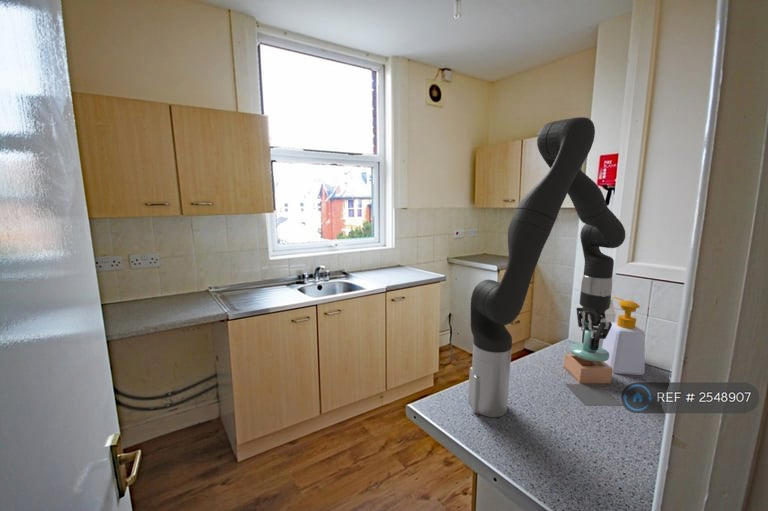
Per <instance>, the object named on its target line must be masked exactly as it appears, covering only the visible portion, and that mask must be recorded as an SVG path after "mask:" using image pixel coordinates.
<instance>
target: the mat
mask: <svg viewBox="0 0 768 511" xmlns="http://www.w3.org/2000/svg"><path fill="white" fill-rule="evenodd" d="M564 385H565V386H566V387H567V388H568V389H569V390H570V391H571V392H572V394H573V395H574V396H575V397H576V398H577V399H578V400H579V401H580V402H581V403H582V404H583V405H584V406H595V407H596V406H599V407H600V406H601V407H602V406H612V407H613V406H615V407H617V406H620V407H621V406H624V404H622V402H620V400H618V399H617V398H616V397H615V396H614V395H613V394H611V393H610V392H609V391H608V390H607V389H606V388H605V387H604V386H603V385H601V383H564Z"/></svg>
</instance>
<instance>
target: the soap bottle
mask: <svg viewBox="0 0 768 511" xmlns="http://www.w3.org/2000/svg"><path fill="white" fill-rule="evenodd" d="M612 298H613V299H617V300H619V302H618V305H619V306H620V310H622V311H624V314H620V315H618V316H617V322H615V323H614V322H611V323H612V326H611V328H610V330H609V333H608V335H607V337H606V339H604V341H603V345H602V348H603V349H605V350H607V351H608V352H609V359H608V360H606V361H604V362H605V363H606V364H607V365H609V366H610V367H611V368H613V369H612V374H619V375H633V376H634V375H636V376H643V375H644V374H645V359H646V358H645V354H646V352H645V351H646V334H645V333H646V332H645V331H644V330H643V329H641V328H640V327H638V326H637V325H636V323H637V318H636V317H634V316H631V315H632V313H635V312H636V311H637V309H639V308H640V307H641V306H640V305H639V304H638V303H637V302H635V301H632V300H625V299H622V298H620V297H618V296H612Z"/></svg>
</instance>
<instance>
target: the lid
mask: <svg viewBox="0 0 768 511" xmlns="http://www.w3.org/2000/svg"><path fill="white" fill-rule="evenodd" d="M596 332H597V331H596V330H595V334H596ZM590 337H591V330H590V329H585V333H584V343H581V342H576V343H571V345H570V346H569V351H570V354H574V355H575V356H577V357H579V358H582V359H585V360H590V361H598V362H601V361H606V360H608V359H609V352H608V351H607V350H605V349H603V348H601V347H599V348H598V350H591V349H590V348H589V346H590Z"/></svg>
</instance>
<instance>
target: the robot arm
mask: <svg viewBox="0 0 768 511" xmlns="http://www.w3.org/2000/svg"><path fill="white" fill-rule="evenodd" d="M595 127H596V126H595V123H594V122H593V120H591V119H590V118H588V117H583V116H579V117H571V118H567V119H566V118H565V119H560V120H554V121H551V122H550V121H549V122H548V123H545V125H543V126H542V127H541V128H540V129H539V132H538V133H537V138H536V142H537V143H536V145H537V149H538V152H539V154H540V155H541V157H542V158H543V159H542V160H544V161H545V163H546V164H547V166H548V167H549V168H550V169H549V170H548V172H547V173H545V175H544V177H543V178H542V179H540V180H539V182H537V183H536V184H535V185H534V186H533V187H532V188H531V189H530V190H529V191H527V193H526V194H525V195H524V196H523V197H522V199H520V201H519V203H518V205H517V206H516V208H515V211H514V212H513V216H512V217H511V220H510V223H509V225H508V228H507V249H508V258H507V259H508V260H507V265H506V269H505V271H504V274H503V276H502V278H501V280H500V281H497V280H492V279H484V280H482V281H480V282H478V283H477V284H476V286H475V287H474V288H473V290H472V294H471V297H470V331H471V333H472V336H473V340H472V341H473V342H472V344H473V345H472V360H471V364H472V365H471V366H470V367H469V375H468V376H469V378H468V379H469V380H468V398H467V399H468V402H469V404H470V407H471V410H472V412H473V413H474V414H479V415H482V416H484V417H487V418H488V417H489V418H499V417H503V416H504V415H506V414H507V412H508V406H509V391H510V390H509V388H510V376H511V362H512V348H513V338H512V334H511V333H510V331H509V330H508V329H507V327H506V326H507V325H510V324H512V323H513V322H514V321H515V320H516V319H517V318H518V317H519V315H520V313H521V311H522V309H523V307H524V304H525V300H526V297H527V296H528V291H529V288H530V284H531V282H532V278H533V276H534V273H535V269H536V267H537V264H538V261H539V259H540V257H541V254H542V252H543V249H544V247H545V244H546V243H547V240H548V238H549V236H550V234H551V232H552V230H553V228H554V225H555V223H556V220H557V218H558V215H559V213H560V211H561V208H562V205H563V203H564V201H565V198H566V197H567V195H568V197H569V198H570V201H571V202H572V204H573V207H574V209H575V212H576V214H577V216H578V218H579V220H580V221H581V223H583V224H584V225H583V226H582V227H581V231H580V235H579V236H580V243H581V248H582V253H583V258H584V267H583V275H582V276H583V277H582V279H581V284H580V294H579V296H580V297H579V304H580V306H582V307H576V317H577V325H578V327H579V328H581V336H582V343H584V333H585V329H590V330H591V337H590V346H589V348H590V349H591V350H598V348H599V340H600V339H606V337H607V335H608V333H609V330H610V328H611V326H612V323H611V322H607V321H606V320H605V311H606V310H607V309H609V308H610V301H611V299H612V291H613V273H614V266H615V265H614V264H615V261H614V259H613V257H611V256H609V255H607V254H605V253H604V252H603V253H602V252H601V249H600V248H606V249H616V248H619V247H620V246H622V245H623V243H624V242H625V240H626V230H625V227H624V225H623V224H622V222H621V221H620V219H619V218H618V217H617V215H615V214H614V213H613V211H612V210H611V209H609V207H608V204H607V202H606V201H607V200H606V199H605V196H604V194H603V192H602V190H601V188H600V187H599V186H598V184H597V183H596V182H595V181H594V180H593V179H592V178H590V177H589V176H588V175H587V174H586V173H585V172H584V171H583V170H582V169H581V167H583V165H584V163H585V161H586V159H587V157H588V156H589V153H590V151H591V150H592V147H593V145H594V142H595V134H596V128H595ZM593 326H598V327H593ZM595 330H597V332H596V334H595ZM582 331H583V333H582ZM602 333H603V334H602Z"/></svg>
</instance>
